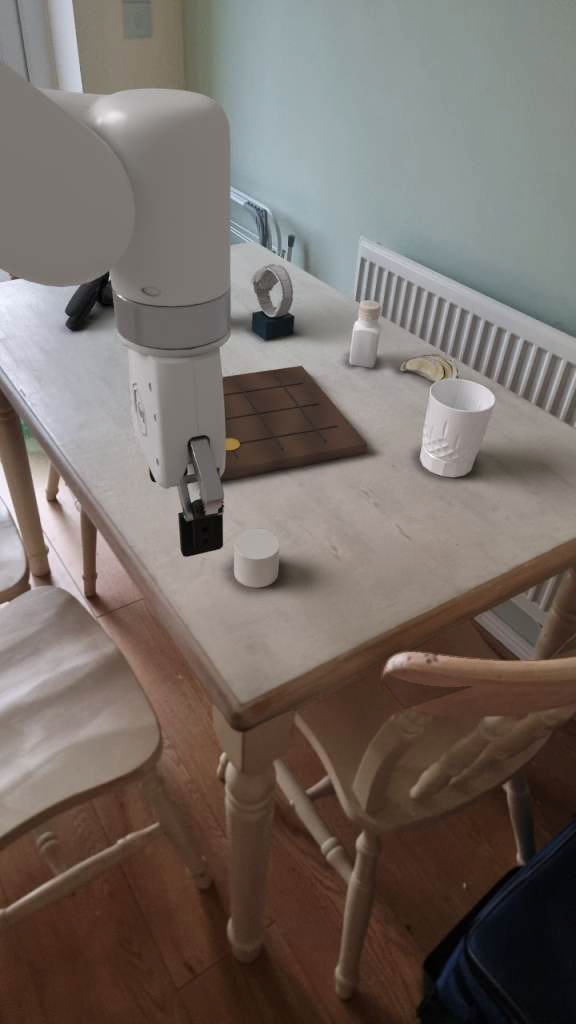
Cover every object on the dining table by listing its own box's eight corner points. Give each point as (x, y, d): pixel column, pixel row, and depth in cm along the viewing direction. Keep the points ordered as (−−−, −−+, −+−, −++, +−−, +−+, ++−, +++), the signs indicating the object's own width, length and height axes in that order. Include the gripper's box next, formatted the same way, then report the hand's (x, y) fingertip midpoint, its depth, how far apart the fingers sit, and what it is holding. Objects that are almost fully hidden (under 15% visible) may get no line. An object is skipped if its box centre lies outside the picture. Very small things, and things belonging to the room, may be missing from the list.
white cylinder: (242, 592, 70) (242, 563, 67) (228, 562, 73) (228, 533, 70) (284, 581, 71) (286, 553, 69) (269, 552, 74) (270, 524, 72)
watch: (273, 319, 120) (275, 255, 113) (299, 338, 115) (304, 272, 108) (245, 326, 118) (246, 261, 111) (271, 345, 113) (273, 278, 106)
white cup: (439, 438, 94) (454, 372, 87) (488, 464, 90) (508, 397, 83) (402, 460, 89) (416, 391, 83) (453, 488, 85) (471, 419, 79)
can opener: (94, 289, 126) (90, 258, 123) (130, 294, 125) (127, 262, 122) (49, 329, 113) (43, 295, 109) (89, 335, 112) (85, 301, 108)
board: (202, 484, 83) (202, 473, 82) (158, 395, 98) (157, 385, 97) (366, 453, 90) (367, 442, 89) (300, 374, 105) (301, 364, 104)
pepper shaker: (373, 369, 108) (382, 311, 102) (348, 366, 108) (355, 307, 102) (376, 358, 111) (384, 301, 105) (351, 354, 111) (358, 297, 105)
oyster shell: (410, 402, 109) (467, 390, 102) (396, 395, 107) (453, 382, 100) (412, 366, 110) (468, 352, 103) (398, 358, 108) (455, 343, 101)
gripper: (91, 269, 50) (116, 461, 61) (147, 381, 38) (166, 597, 49) (191, 260, 53) (198, 446, 64) (274, 363, 41) (265, 572, 51)
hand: (184, 512), depth 56 cm, fingers open, 9 cm apart
